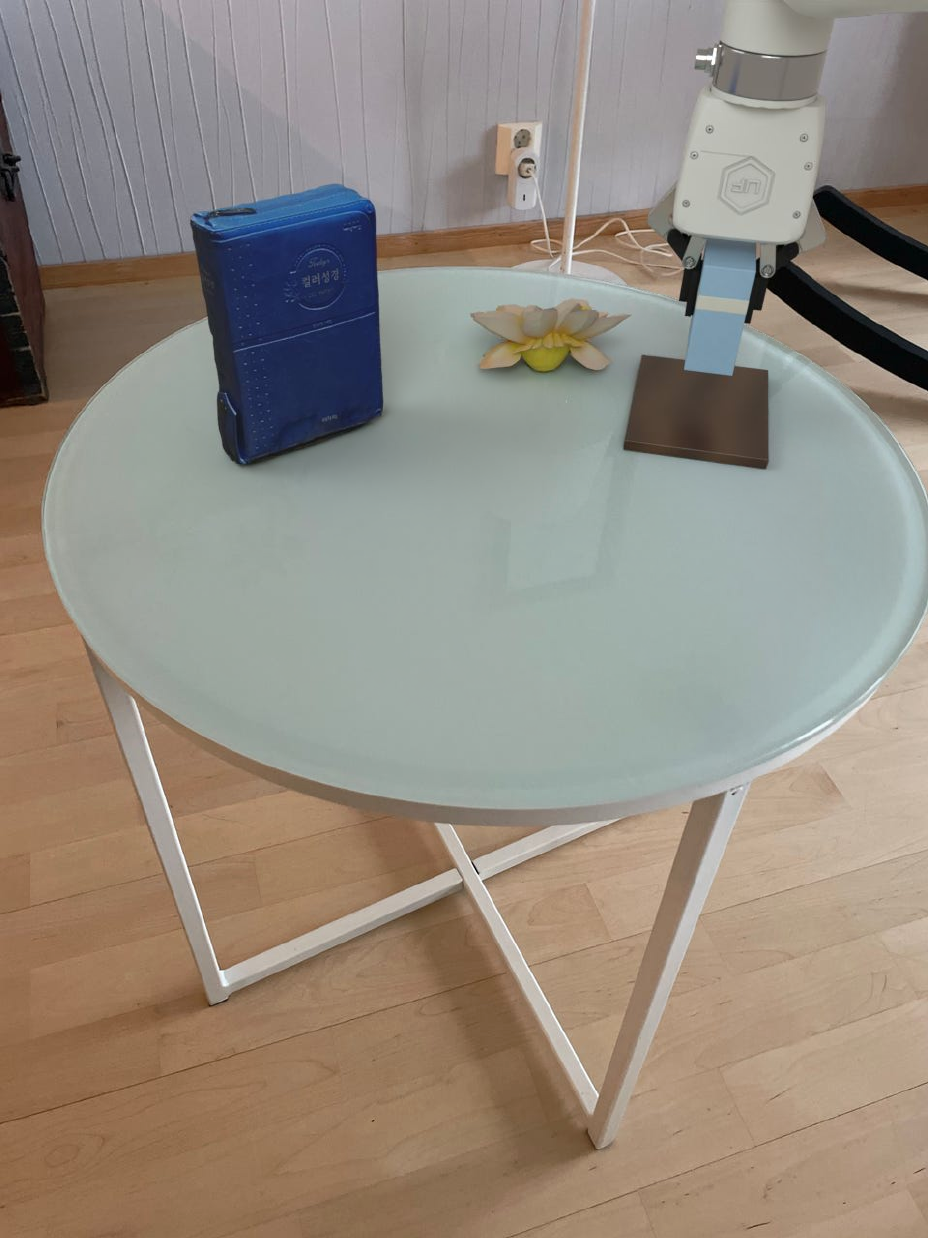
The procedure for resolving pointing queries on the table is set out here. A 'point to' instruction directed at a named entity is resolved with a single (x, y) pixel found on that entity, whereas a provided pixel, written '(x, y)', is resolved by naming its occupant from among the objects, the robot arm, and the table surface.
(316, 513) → the table surface
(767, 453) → the brown wooden board
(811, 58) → the robot arm
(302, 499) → the table surface
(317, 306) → the book
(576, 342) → the decorative flower
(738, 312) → the box
